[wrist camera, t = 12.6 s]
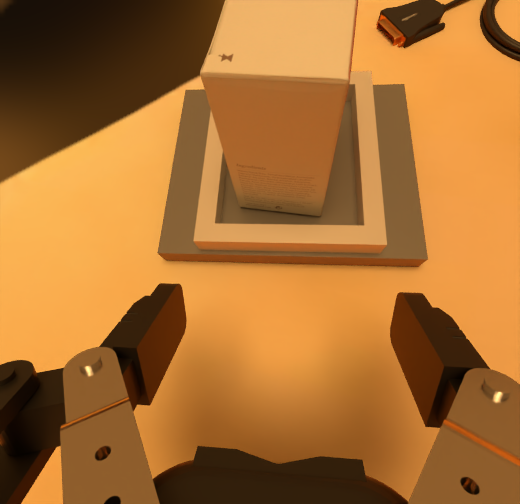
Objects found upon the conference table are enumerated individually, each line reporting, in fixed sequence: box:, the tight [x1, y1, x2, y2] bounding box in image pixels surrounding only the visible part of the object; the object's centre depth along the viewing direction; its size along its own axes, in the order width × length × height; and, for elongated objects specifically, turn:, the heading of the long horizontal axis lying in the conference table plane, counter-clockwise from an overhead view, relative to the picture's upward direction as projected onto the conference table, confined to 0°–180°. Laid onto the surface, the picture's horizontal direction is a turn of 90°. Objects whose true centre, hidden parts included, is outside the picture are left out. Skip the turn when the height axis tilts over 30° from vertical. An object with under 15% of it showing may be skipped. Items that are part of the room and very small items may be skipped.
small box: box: [200, 0, 358, 216], centre depth 17 cm, size 8×6×10 cm
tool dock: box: [158, 71, 428, 267], centre depth 22 cm, size 17×14×3 cm
